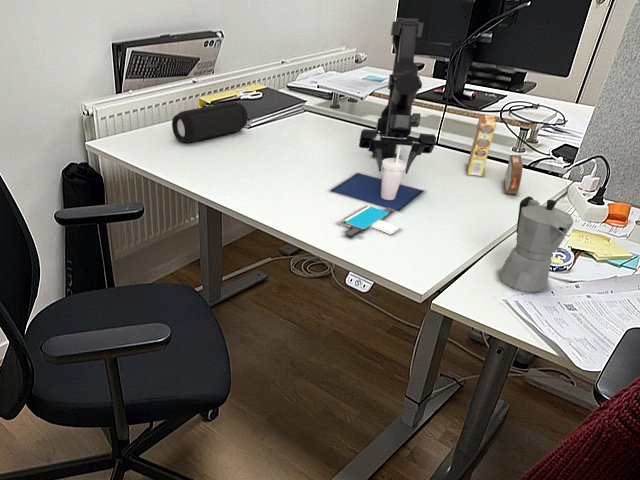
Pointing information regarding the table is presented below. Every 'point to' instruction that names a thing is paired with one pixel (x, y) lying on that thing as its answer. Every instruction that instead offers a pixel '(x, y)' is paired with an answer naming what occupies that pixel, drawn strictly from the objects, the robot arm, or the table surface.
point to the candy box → (481, 145)
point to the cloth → (375, 191)
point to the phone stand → (368, 221)
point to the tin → (513, 174)
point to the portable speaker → (209, 122)
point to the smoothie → (392, 176)
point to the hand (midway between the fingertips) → (393, 172)
